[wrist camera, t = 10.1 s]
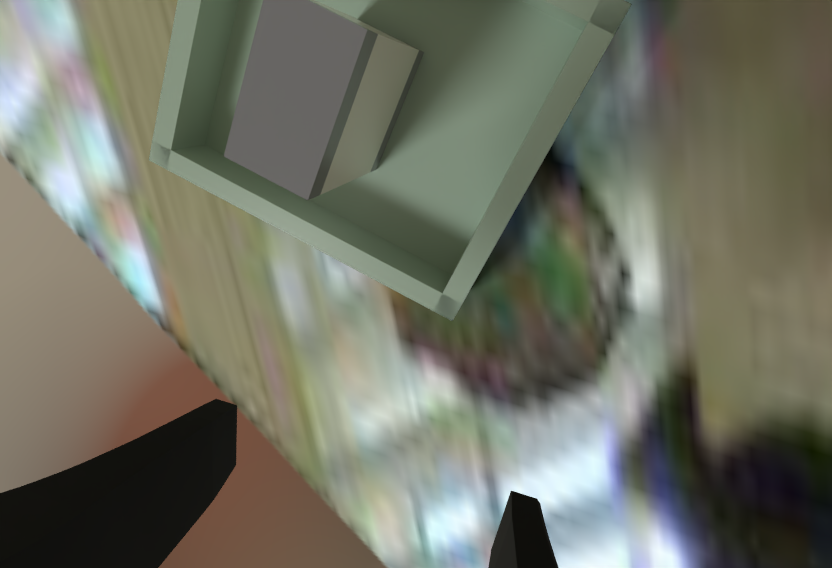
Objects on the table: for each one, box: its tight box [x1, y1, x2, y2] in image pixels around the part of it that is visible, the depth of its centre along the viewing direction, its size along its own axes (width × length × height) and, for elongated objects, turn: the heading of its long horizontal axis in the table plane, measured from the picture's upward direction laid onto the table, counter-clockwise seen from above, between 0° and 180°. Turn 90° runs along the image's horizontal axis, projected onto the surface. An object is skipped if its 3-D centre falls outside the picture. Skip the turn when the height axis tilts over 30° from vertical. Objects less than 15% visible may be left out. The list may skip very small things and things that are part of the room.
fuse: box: [224, 0, 424, 200], centre depth 15 cm, size 3×4×6 cm, turn 156°
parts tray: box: [149, 0, 632, 321], centre depth 16 cm, size 13×11×2 cm
